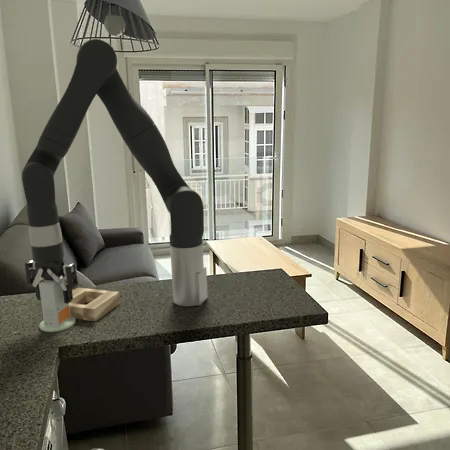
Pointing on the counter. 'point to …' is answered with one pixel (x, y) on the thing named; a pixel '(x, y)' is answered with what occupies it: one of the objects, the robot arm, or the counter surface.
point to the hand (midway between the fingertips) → (54, 300)
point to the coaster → (63, 326)
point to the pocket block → (92, 303)
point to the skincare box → (53, 303)
